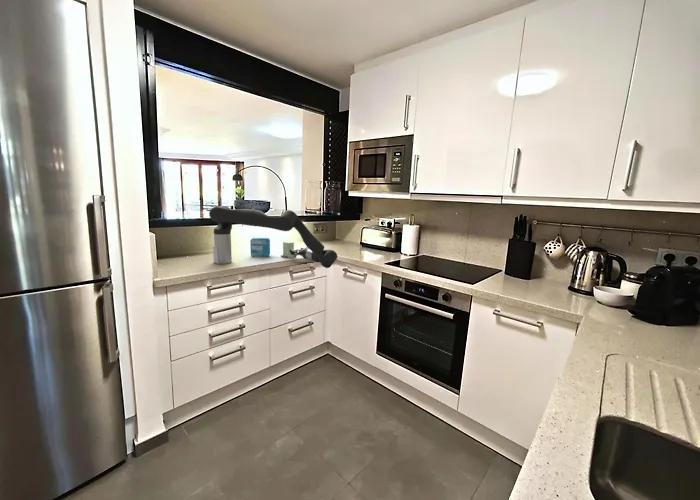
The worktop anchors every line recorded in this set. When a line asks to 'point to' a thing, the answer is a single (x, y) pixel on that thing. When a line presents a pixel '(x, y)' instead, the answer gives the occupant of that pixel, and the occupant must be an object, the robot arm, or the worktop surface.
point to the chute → (286, 256)
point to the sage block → (288, 249)
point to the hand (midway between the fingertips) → (295, 250)
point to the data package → (260, 247)
